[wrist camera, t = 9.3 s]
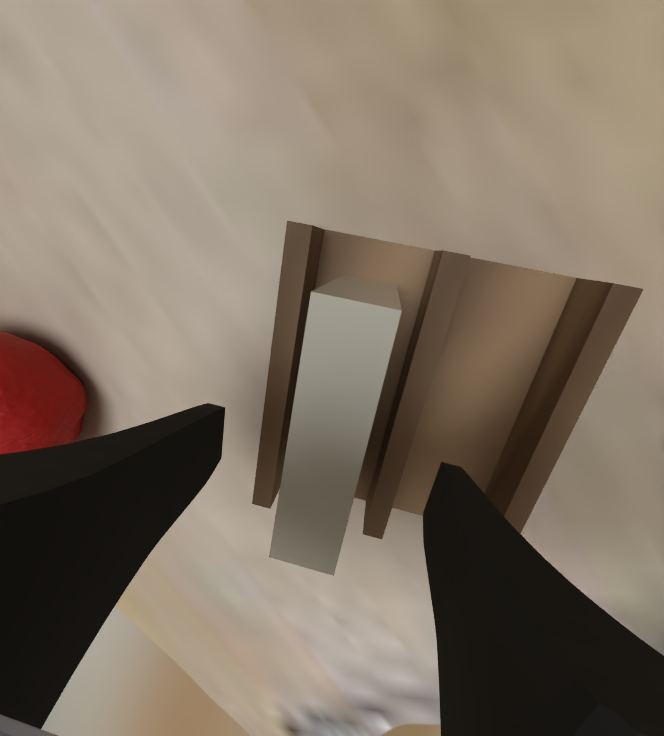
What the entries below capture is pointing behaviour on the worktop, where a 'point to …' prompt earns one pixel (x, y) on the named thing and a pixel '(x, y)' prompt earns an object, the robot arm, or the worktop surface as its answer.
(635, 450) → the worktop surface
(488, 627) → the robot arm
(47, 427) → the pomegranate
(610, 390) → the worktop surface
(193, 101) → the worktop surface
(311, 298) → the clay block
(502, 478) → the rack
